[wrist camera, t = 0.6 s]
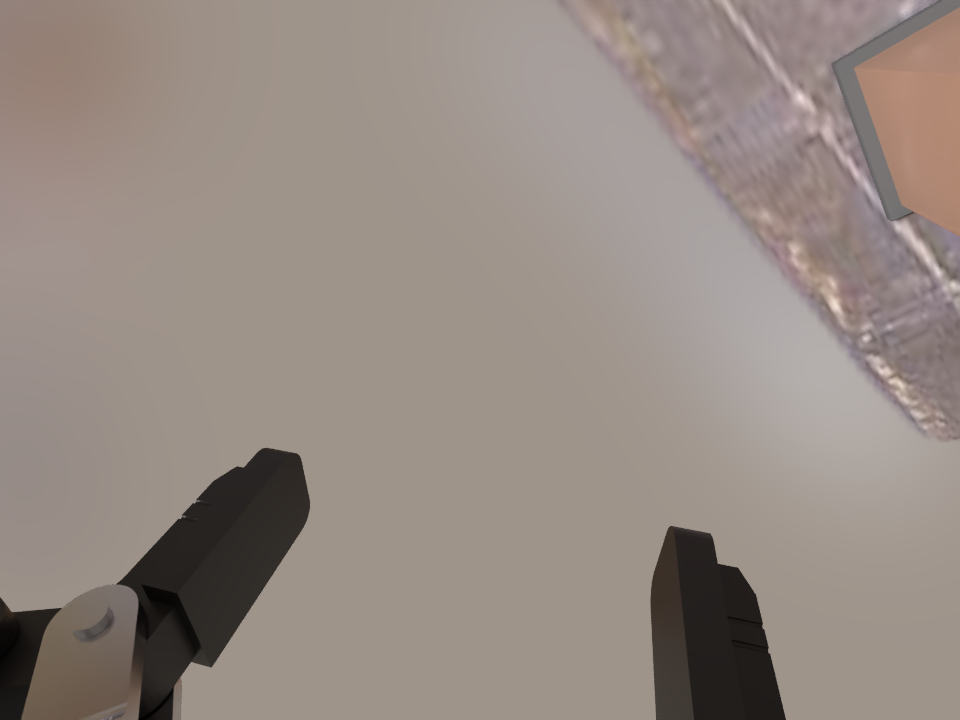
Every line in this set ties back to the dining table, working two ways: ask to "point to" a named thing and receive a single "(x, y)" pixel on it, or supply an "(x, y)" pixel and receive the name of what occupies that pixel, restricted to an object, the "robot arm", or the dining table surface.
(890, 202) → the mat
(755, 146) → the dining table surface
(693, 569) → the robot arm
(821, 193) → the dining table surface
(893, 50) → the orange square bottle
